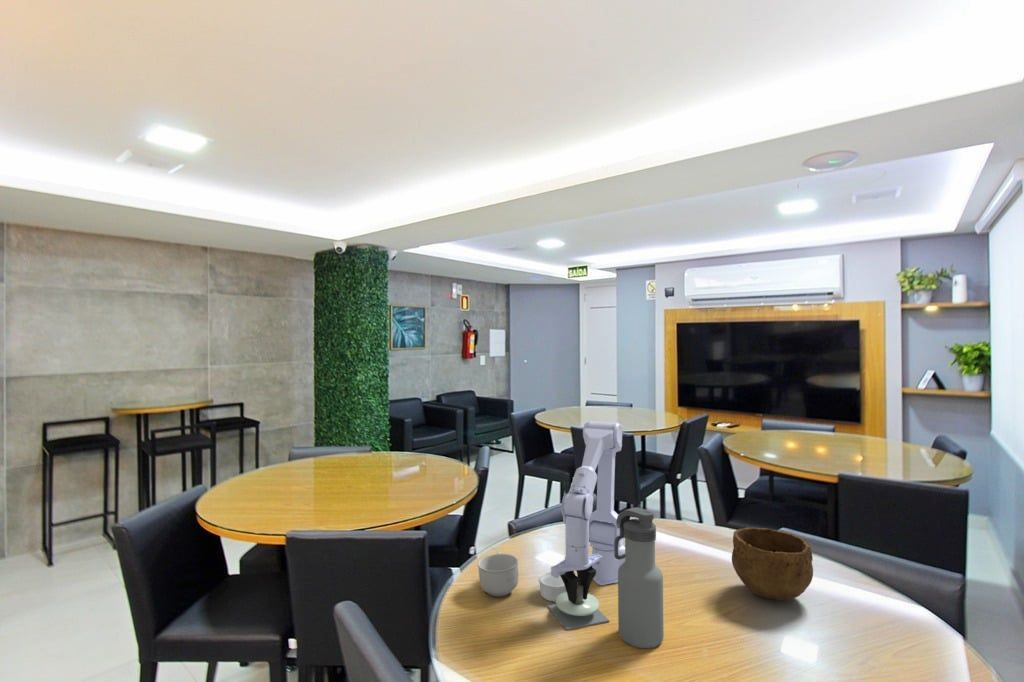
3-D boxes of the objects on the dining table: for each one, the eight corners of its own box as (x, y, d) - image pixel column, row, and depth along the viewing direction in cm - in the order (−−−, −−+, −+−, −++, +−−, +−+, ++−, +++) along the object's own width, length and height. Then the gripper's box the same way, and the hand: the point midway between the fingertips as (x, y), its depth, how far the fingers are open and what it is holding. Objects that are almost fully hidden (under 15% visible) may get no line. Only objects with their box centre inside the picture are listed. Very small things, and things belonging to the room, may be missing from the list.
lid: (580, 589, 127) (580, 571, 127) (608, 608, 118) (608, 589, 118) (547, 600, 122) (547, 581, 122) (573, 620, 113) (573, 600, 113)
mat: (587, 599, 127) (587, 598, 127) (609, 621, 116) (609, 620, 116) (548, 607, 123) (548, 605, 123) (566, 630, 113) (566, 628, 113)
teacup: (514, 603, 125) (514, 571, 126) (473, 598, 127) (473, 567, 128) (523, 578, 139) (523, 549, 139) (486, 575, 141) (486, 546, 141)
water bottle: (607, 633, 111) (606, 509, 112) (635, 619, 117) (634, 501, 118) (644, 655, 103) (643, 521, 104) (672, 639, 109) (671, 511, 110)
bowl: (808, 586, 133) (807, 531, 134) (818, 621, 116) (817, 557, 117) (732, 573, 141) (731, 521, 142) (731, 604, 124) (730, 544, 125)
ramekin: (534, 589, 133) (534, 572, 133) (565, 585, 135) (565, 569, 135) (544, 605, 124) (544, 588, 124) (577, 601, 126) (577, 584, 126)
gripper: (589, 532, 127) (589, 585, 127) (543, 544, 120) (543, 600, 119) (608, 541, 121) (608, 597, 121) (561, 554, 114) (561, 613, 113)
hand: (577, 599), depth 120 cm, fingers closed on lid, 3 cm apart
